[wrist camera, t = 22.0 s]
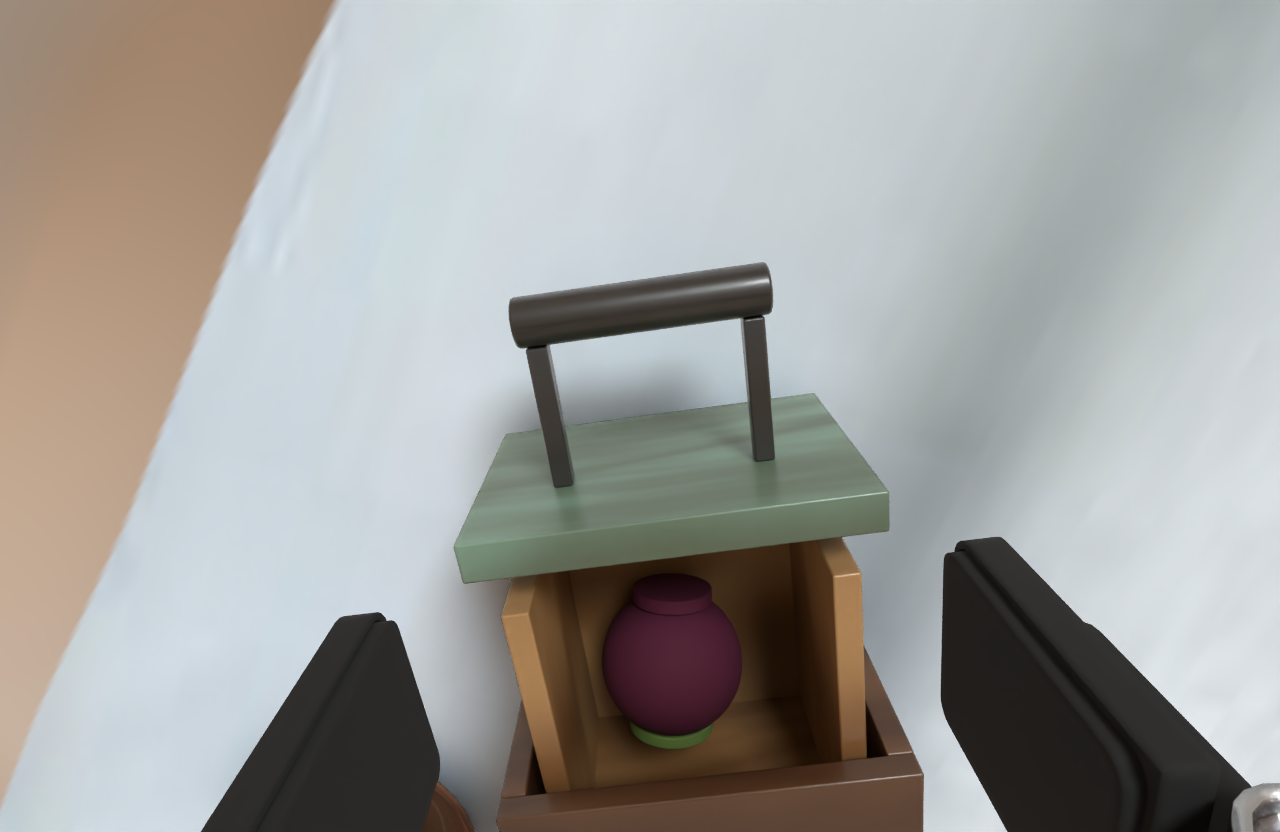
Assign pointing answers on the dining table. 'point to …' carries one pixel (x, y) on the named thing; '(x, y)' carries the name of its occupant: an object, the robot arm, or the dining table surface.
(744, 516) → the drawer
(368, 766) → the robot arm
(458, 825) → the cup and saucer
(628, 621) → the mangosteen
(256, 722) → the dining table surface
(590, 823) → the cabinet
